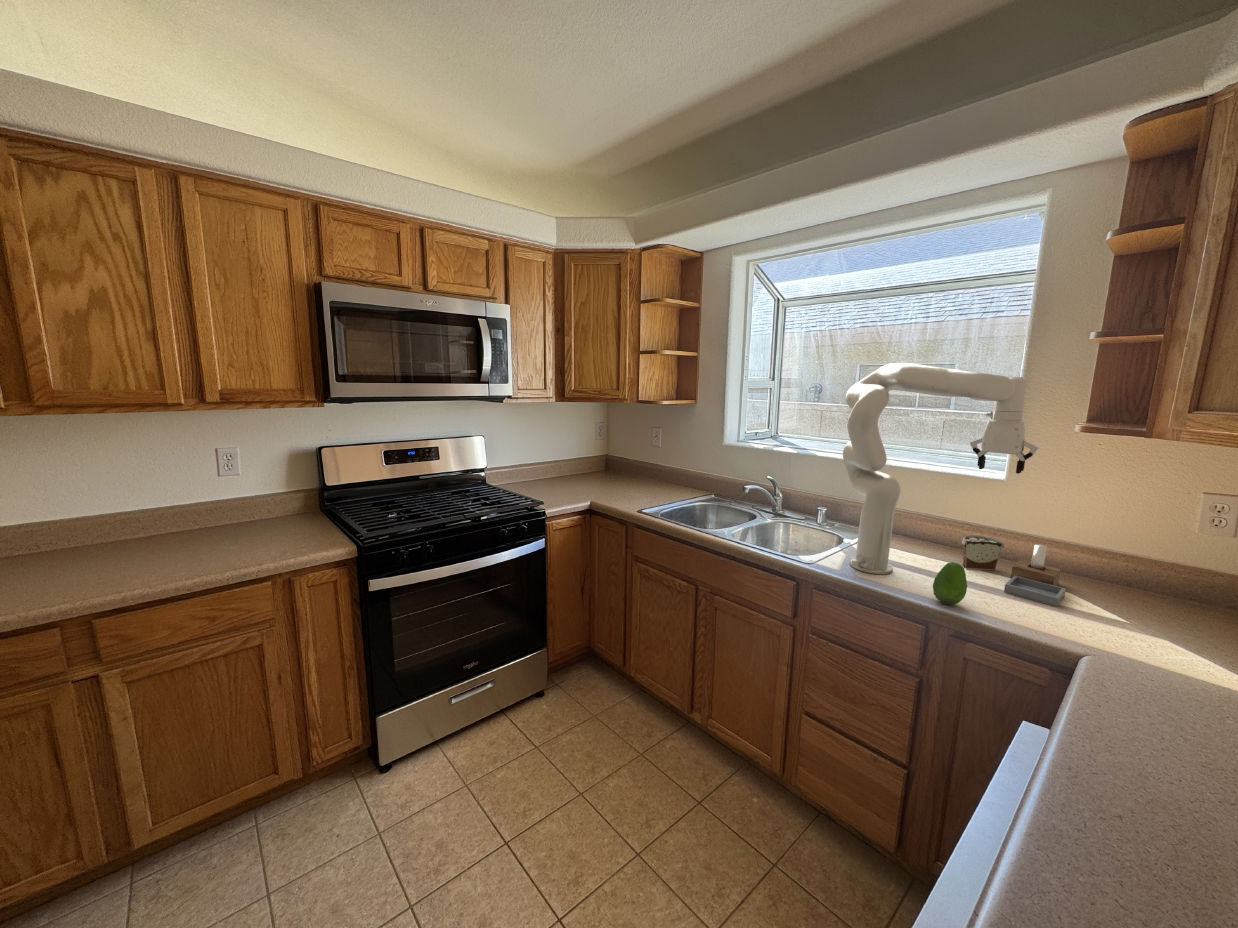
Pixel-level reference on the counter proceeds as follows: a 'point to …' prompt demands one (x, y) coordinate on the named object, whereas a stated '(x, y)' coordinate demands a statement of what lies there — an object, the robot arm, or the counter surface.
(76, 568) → the counter surface
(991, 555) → the food container
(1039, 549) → the pin
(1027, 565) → the pin block
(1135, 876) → the counter surface
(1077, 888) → the counter surface
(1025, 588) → the tray
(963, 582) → the avocado
